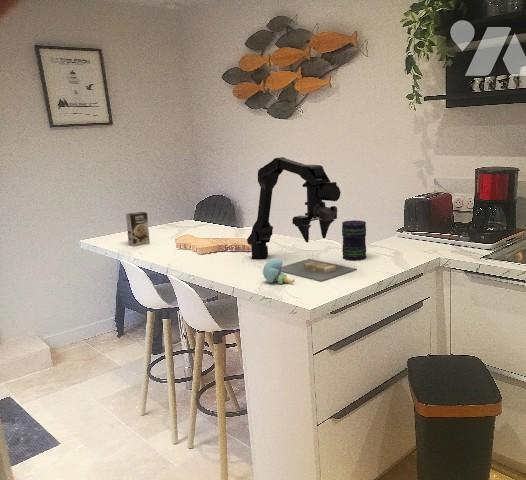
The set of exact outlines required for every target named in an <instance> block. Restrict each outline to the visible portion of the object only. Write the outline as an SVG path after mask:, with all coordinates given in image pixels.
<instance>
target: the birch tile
mask: <svg viewBox="0 0 526 480" xmlns="http://www.w3.org/2000/svg"><path fill="white" fill-rule="evenodd" d="M303 269H307V270H312V271H316V272H320V273H325V274H328V273H331V272H335V271H336V266H333V265H329V264H324V263H319V262H314V261H311V262H307V263H304V264H303Z"/></svg>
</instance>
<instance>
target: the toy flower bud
mask: <svg viewBox="0 0 526 480" xmlns="http://www.w3.org/2000/svg"><path fill="white" fill-rule="evenodd" d="M282 266H284V263H283V260H281V258H276V257H275V258H271V259H269V260H267V261H266V262H265V265H264V266H263V269H262V275H263V277H264V279H265V280H266V281H267V282H268V283H270V284H273V283H275V282H276V281H277V283H278V284H279V285H283V283H290V284H293V283H295V281H296V279H295V278H294V279H290V278H289V277H288V275H287V273H284V272H282Z"/></svg>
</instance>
